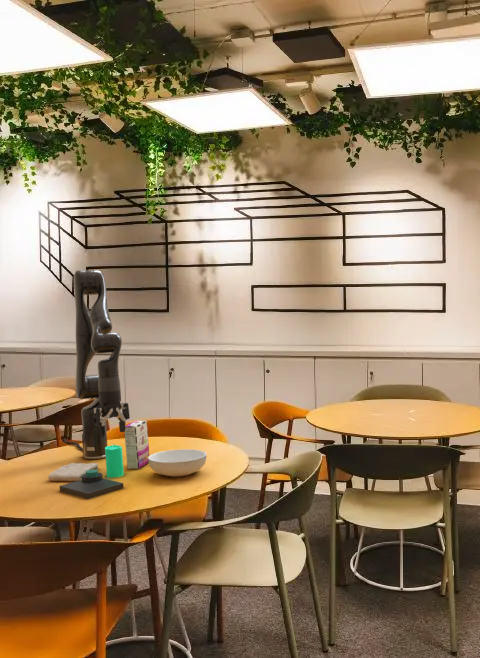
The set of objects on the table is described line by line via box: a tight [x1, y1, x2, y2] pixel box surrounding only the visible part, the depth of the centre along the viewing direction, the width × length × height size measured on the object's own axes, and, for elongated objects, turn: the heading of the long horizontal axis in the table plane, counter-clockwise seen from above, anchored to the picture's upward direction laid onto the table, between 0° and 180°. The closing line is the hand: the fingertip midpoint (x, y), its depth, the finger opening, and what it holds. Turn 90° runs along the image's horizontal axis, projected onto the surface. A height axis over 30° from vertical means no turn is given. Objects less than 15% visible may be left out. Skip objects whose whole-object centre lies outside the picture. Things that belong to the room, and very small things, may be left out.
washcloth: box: [47, 462, 100, 482], centre depth 245 cm, size 12×18×3 cm, turn 172°
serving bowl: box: [148, 448, 207, 478], centre depth 243 cm, size 21×21×7 cm
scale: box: [58, 472, 125, 500], centre depth 226 cm, size 16×14×4 cm
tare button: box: [86, 469, 99, 477], centre depth 232 cm, size 4×4×2 cm
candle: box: [105, 444, 125, 479], centre depth 243 cm, size 6×6×12 cm
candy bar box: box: [124, 420, 150, 470], centre depth 256 cm, size 11×5×16 cm, turn 168°
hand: (112, 434), depth 241 cm, fingers open, 8 cm apart
